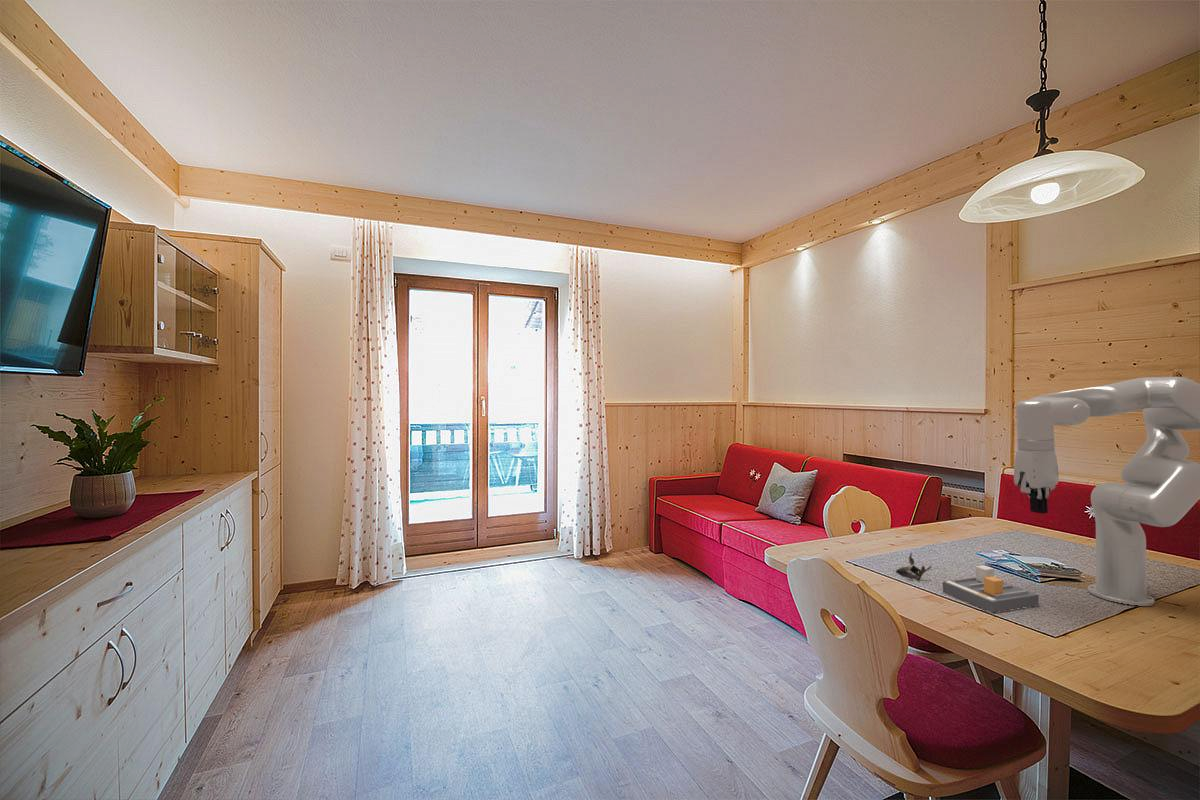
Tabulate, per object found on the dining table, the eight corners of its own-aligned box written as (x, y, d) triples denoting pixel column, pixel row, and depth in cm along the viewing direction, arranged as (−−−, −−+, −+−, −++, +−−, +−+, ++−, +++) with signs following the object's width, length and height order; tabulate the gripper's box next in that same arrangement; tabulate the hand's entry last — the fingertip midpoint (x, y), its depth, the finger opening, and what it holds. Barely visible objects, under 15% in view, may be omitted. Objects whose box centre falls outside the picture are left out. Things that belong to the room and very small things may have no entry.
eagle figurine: (936, 575, 150) (914, 560, 158) (928, 559, 148) (906, 544, 157) (916, 589, 150) (895, 573, 158) (907, 572, 148) (886, 557, 157)
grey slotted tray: (986, 585, 144) (986, 573, 144) (1038, 605, 131) (1038, 591, 131) (942, 591, 140) (942, 578, 140) (992, 613, 127) (992, 598, 127)
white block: (984, 578, 141) (983, 565, 141) (993, 582, 139) (993, 568, 139) (975, 580, 141) (975, 566, 141) (985, 583, 138) (985, 569, 138)
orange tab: (992, 590, 133) (992, 576, 133) (1003, 595, 130) (1003, 580, 130) (983, 592, 132) (983, 577, 132) (994, 596, 130) (994, 581, 130)
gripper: (1041, 441, 137) (1044, 505, 138) (1000, 446, 134) (1003, 512, 134) (1072, 444, 130) (1075, 512, 131) (1029, 449, 127) (1033, 519, 127)
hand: (1039, 512), depth 132 cm, fingers closed
